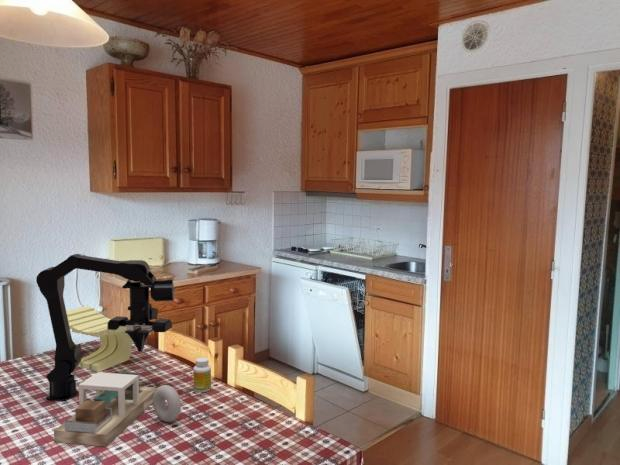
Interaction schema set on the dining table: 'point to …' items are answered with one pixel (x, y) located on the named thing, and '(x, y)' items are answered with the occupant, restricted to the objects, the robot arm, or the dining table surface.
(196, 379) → the supplement bottle
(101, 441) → the deck
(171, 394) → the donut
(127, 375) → the tunnel
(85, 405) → the block
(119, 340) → the slatted curved stool
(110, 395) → the carriage
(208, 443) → the dining table surface
